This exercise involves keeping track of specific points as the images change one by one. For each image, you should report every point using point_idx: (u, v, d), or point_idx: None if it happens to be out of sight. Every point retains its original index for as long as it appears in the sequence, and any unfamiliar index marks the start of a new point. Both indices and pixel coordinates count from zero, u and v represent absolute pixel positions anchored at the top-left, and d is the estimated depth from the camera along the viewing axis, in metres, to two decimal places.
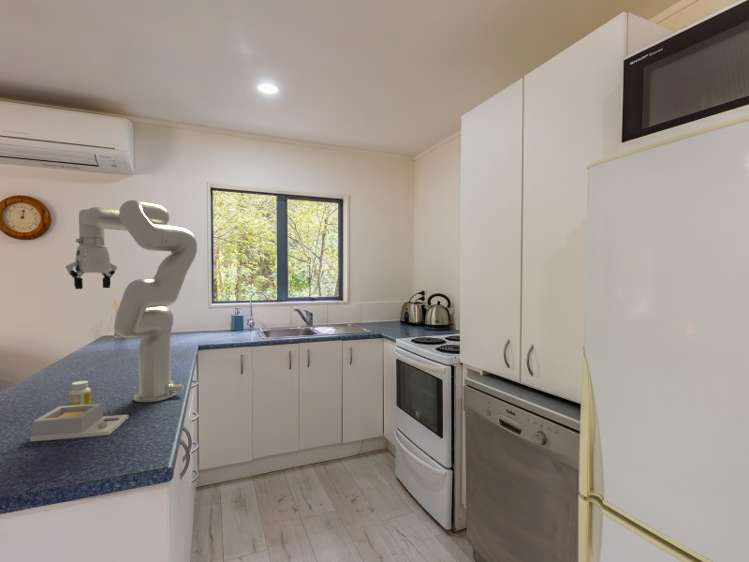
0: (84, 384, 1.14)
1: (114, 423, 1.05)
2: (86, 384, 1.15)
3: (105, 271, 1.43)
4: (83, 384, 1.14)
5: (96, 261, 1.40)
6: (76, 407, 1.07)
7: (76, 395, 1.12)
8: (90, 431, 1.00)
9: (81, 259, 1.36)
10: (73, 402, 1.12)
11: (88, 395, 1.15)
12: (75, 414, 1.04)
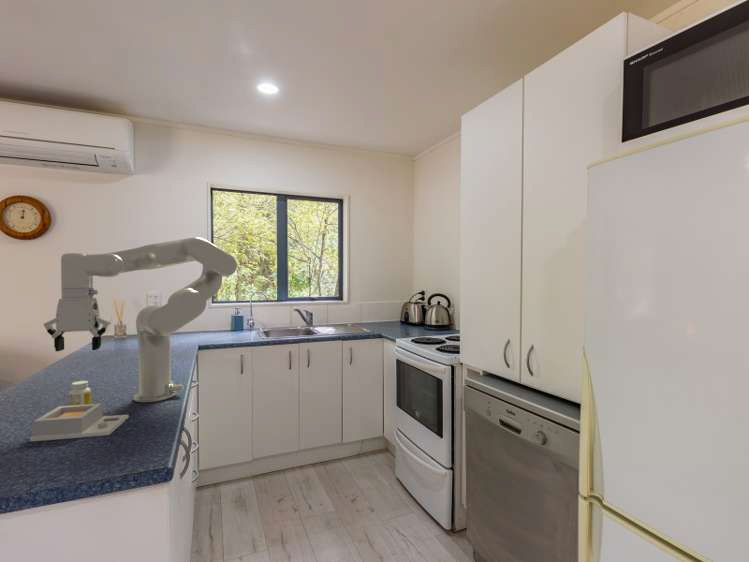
0: (84, 384, 1.14)
1: (114, 423, 1.05)
2: (86, 384, 1.15)
3: None
4: (83, 384, 1.14)
5: None
6: (76, 407, 1.07)
7: (76, 395, 1.12)
8: (90, 431, 1.00)
9: None
10: (73, 402, 1.12)
11: (88, 395, 1.15)
12: (75, 414, 1.04)
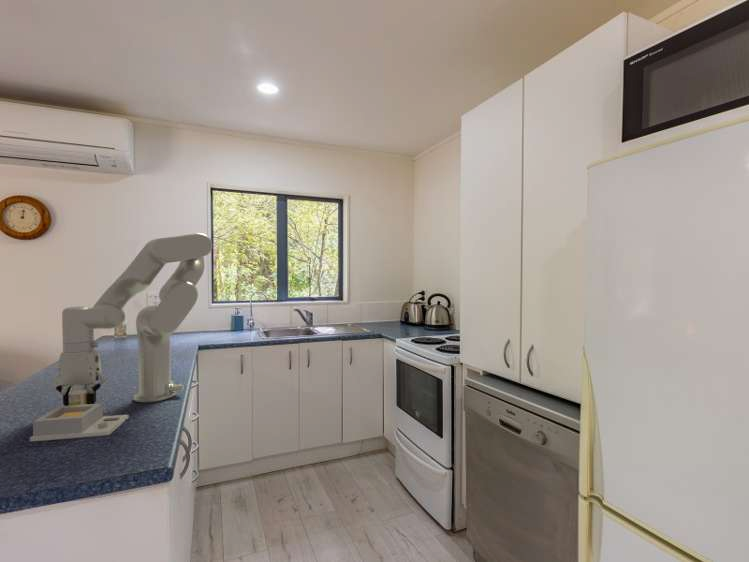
0: None
1: (114, 423, 1.05)
2: None
3: None
4: None
5: None
6: (76, 407, 1.07)
7: (76, 395, 1.12)
8: (90, 431, 1.00)
9: (100, 365, 1.17)
10: (73, 402, 1.12)
11: None
12: (75, 414, 1.04)
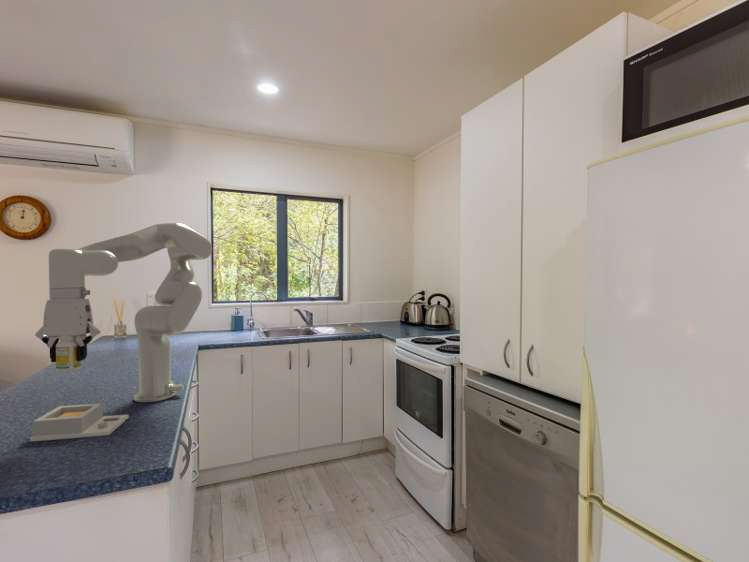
0: (73, 336, 1.02)
1: (114, 423, 1.05)
2: None
3: None
4: (72, 336, 1.02)
5: None
6: (76, 407, 1.07)
7: (64, 348, 1.00)
8: (90, 431, 1.00)
9: None
10: (60, 355, 1.00)
11: None
12: (75, 414, 1.04)
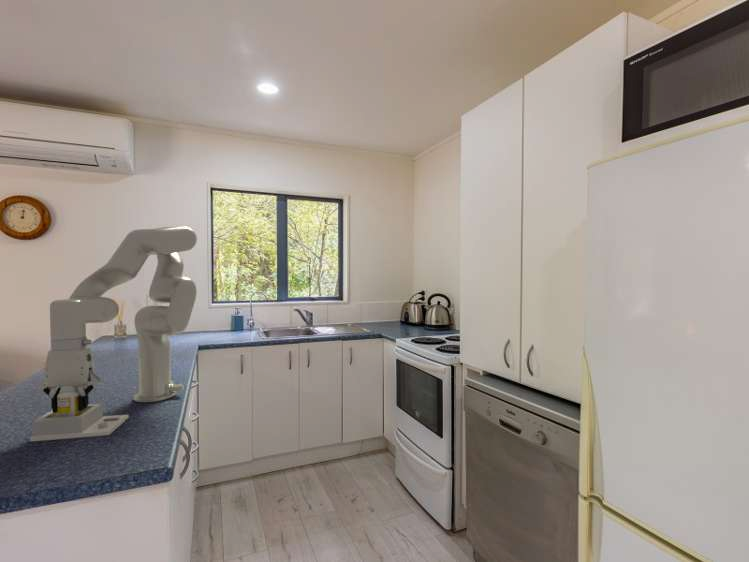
0: (75, 386, 1.02)
1: (114, 423, 1.05)
2: None
3: None
4: (73, 386, 1.02)
5: None
6: None
7: (65, 399, 1.00)
8: (90, 431, 1.00)
9: (93, 364, 1.06)
10: (62, 406, 1.00)
11: None
12: None
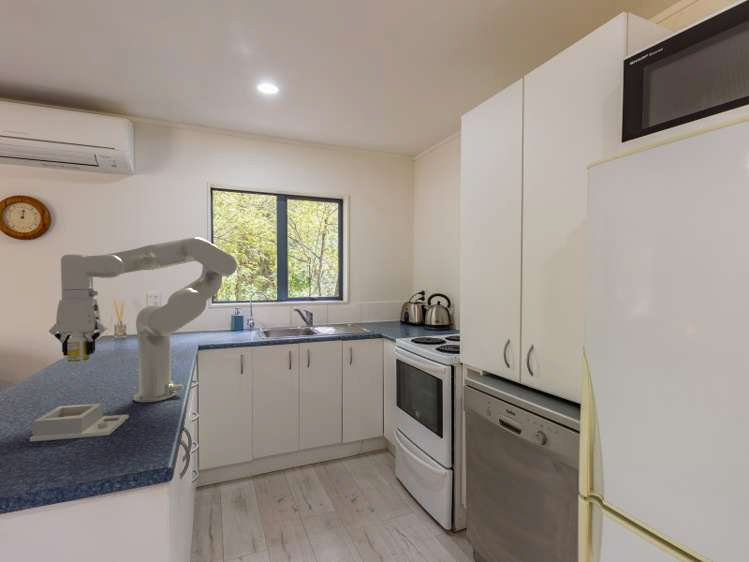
0: (83, 332, 1.14)
1: (114, 423, 1.05)
2: None
3: None
4: None
5: None
6: (76, 407, 1.07)
7: (75, 343, 1.12)
8: (90, 431, 1.00)
9: (99, 314, 1.17)
10: (72, 349, 1.12)
11: None
12: None
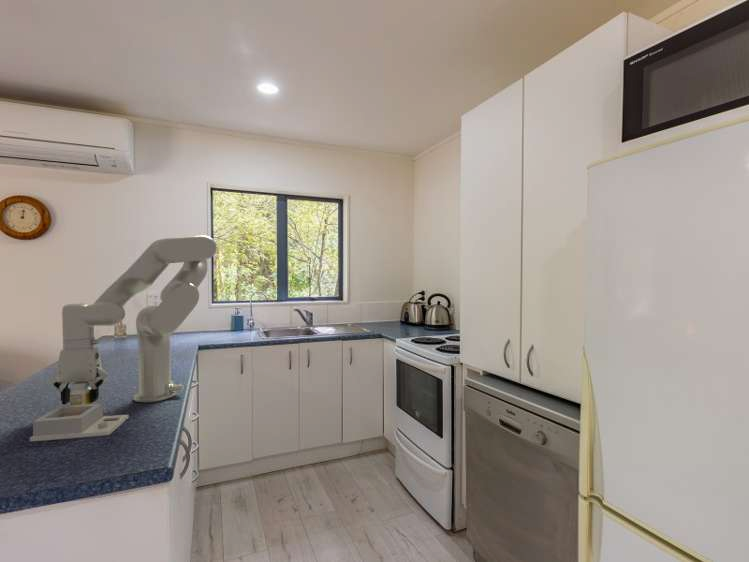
0: (85, 384, 1.14)
1: (114, 423, 1.05)
2: (87, 384, 1.15)
3: None
4: (84, 384, 1.14)
5: None
6: (76, 407, 1.07)
7: (77, 395, 1.12)
8: (90, 431, 1.00)
9: (100, 362, 1.18)
10: (74, 402, 1.12)
11: (89, 395, 1.15)
12: None
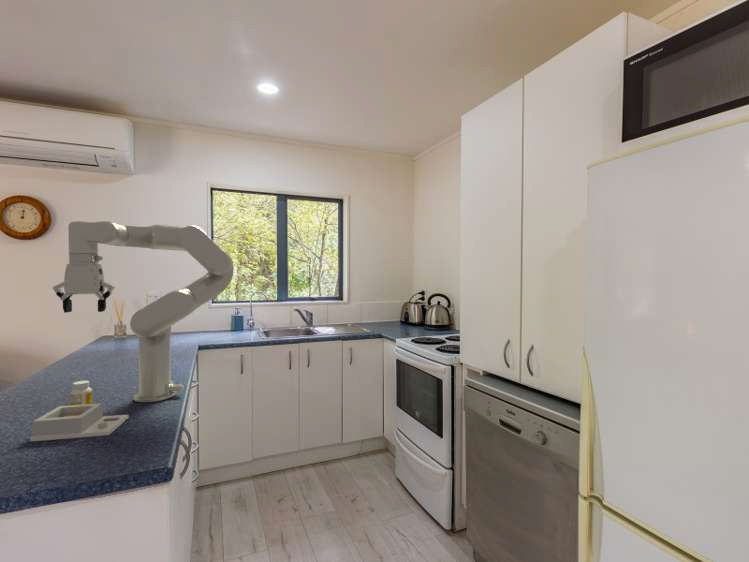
0: (85, 384, 1.14)
1: (114, 423, 1.05)
2: (87, 384, 1.15)
3: None
4: (84, 384, 1.14)
5: None
6: (76, 407, 1.07)
7: (77, 395, 1.12)
8: (90, 431, 1.00)
9: (103, 279, 1.26)
10: (74, 402, 1.12)
11: (89, 395, 1.15)
12: None
